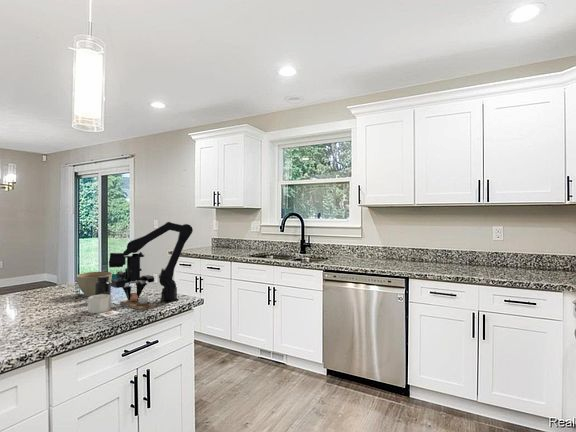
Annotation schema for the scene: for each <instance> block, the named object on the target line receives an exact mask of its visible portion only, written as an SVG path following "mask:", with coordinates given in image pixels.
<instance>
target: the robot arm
mask: <svg viewBox="0 0 576 432" xmlns="http://www.w3.org/2000/svg"><path fill="white" fill-rule="evenodd" d="M168 231H172V232H176V233H178V235H177V241H176V243H175V246H174V247H173V251H172V252H171V256H170V258H169V259H168V263H167V265H166V266H165V267H164V268H163V267H161V269H160V270H161V271H160V273H159V274H158V282H159V285H161V286H162V287H163V288H162V290H161V294H160V295H161V298H160V301H161V302H165V303H171V302H175V301H178V300H179V298H178V293H177V292H178V287H177V283H176V281H175V280H174V279H173V277H174V272H175V268H176V266H177V263H178V261H179V259H180V255H181V253H182V251H183V248H184V246H185V244H186V242H187V241H188V240H189V238H190V236H191V235H192V234H193V231H194V229H193V227H192V225H191V224H187V223H184V224H179V223H173V222H170V221H167V222H165V223H164V224H162V225H160V226H159V227H157V228H156V229H154V230H152V231H150V232H149V233H146V234H145V235H144V236H141V237H140V236H139V237H138V238H135V239H133V240H130V241H128V243H127V245H126V249H125V250H123V252H111V253H110V254H109V260H108V267H109V268H123V267H124V265H126V268H125V270H124V271H123V270H120V271H117V272H116V277H117V279H111V288H116V289H119V288H121V289H123V291H124V294H125V295H126V300H130V295H131V293H132V286H131V285H130V284H135V286H136V292H135V293H136V294H137V295H138V299H139V298H140V297H141V295H142V292H143V290H144V288H145V287H146V286H147V285H148V284H149V283H155V276H153V275H149V274H147V275H141V272H142V271H143V270H142V268H141V258H145V254H144V253H143V252H142V251H140V250H141V249H143V248H144V247H145V246H146V245H147V244H148V243H150V242H152V241H153V240H155V239H157V238H158V237H160V236H162V235H163V234H165V233H167V232H168ZM138 252H139V253H138ZM130 254H131V255H130Z"/></svg>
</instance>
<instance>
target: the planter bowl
mask: <svg viewBox="0 0 576 432" xmlns="http://www.w3.org/2000/svg"><path fill="white" fill-rule="evenodd" d="M99 276H109V280H108V281H109V282H110V283H111V282H112V278H113V277H112V276H113V272H111V271H90V272H83V273H79V274H77V275H76V279H77V285H78V288H79V289H80V291H81V292H82V294H83V295H84V296H85V297H87V298H88V297H90V296H94V295H95V284H96V283H97V282H98V281H97V280H98V277H99Z"/></svg>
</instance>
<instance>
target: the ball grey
mask: <svg viewBox="0 0 576 432" xmlns="http://www.w3.org/2000/svg"><path fill="white" fill-rule="evenodd" d="M138 299H139V303H140V304H142V305H144V304H146V303H147V302H149V298H148V296H146V295H140V296H139V298H138Z"/></svg>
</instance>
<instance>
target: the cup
mask: <svg viewBox="0 0 576 432" xmlns="http://www.w3.org/2000/svg"><path fill="white" fill-rule="evenodd" d="M111 310H112V294H111V295H108V294H100V295H94V296H90V297H88V296H87V312H88V313H89V314H99V313H104V312H108V311H111Z"/></svg>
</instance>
